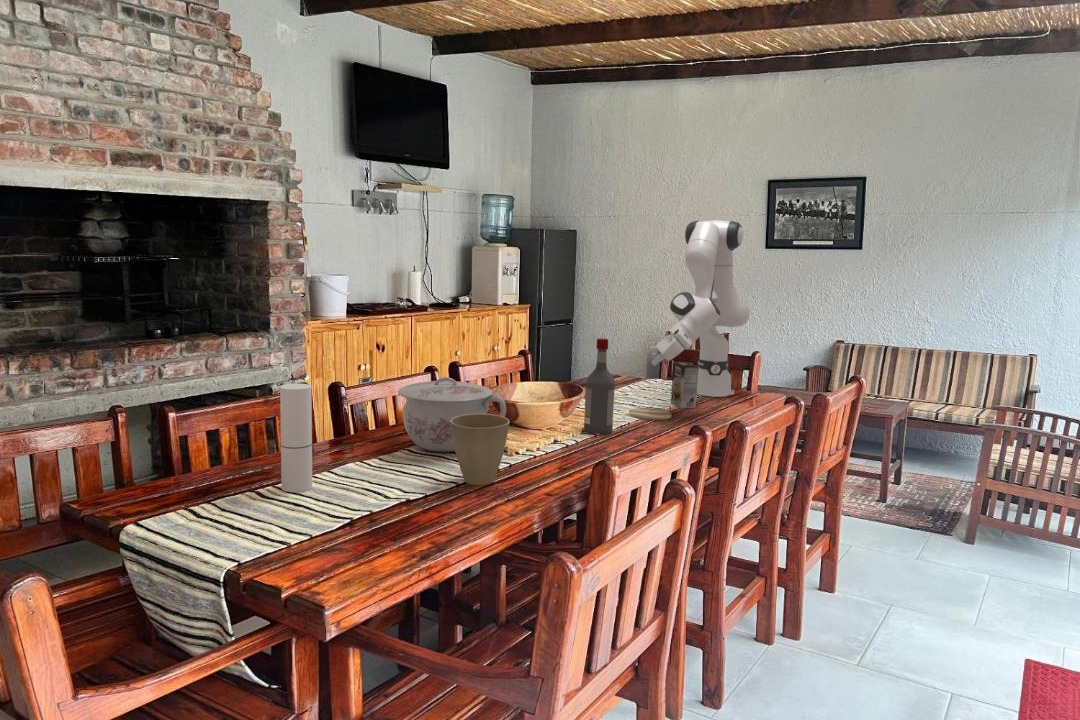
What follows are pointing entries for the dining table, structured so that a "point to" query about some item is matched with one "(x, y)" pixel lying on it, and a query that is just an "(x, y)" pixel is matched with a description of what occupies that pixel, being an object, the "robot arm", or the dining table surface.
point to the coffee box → (684, 384)
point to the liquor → (599, 395)
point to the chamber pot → (442, 410)
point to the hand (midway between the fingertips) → (651, 362)
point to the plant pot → (479, 445)
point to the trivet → (650, 414)
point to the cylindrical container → (296, 437)
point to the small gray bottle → (652, 370)
